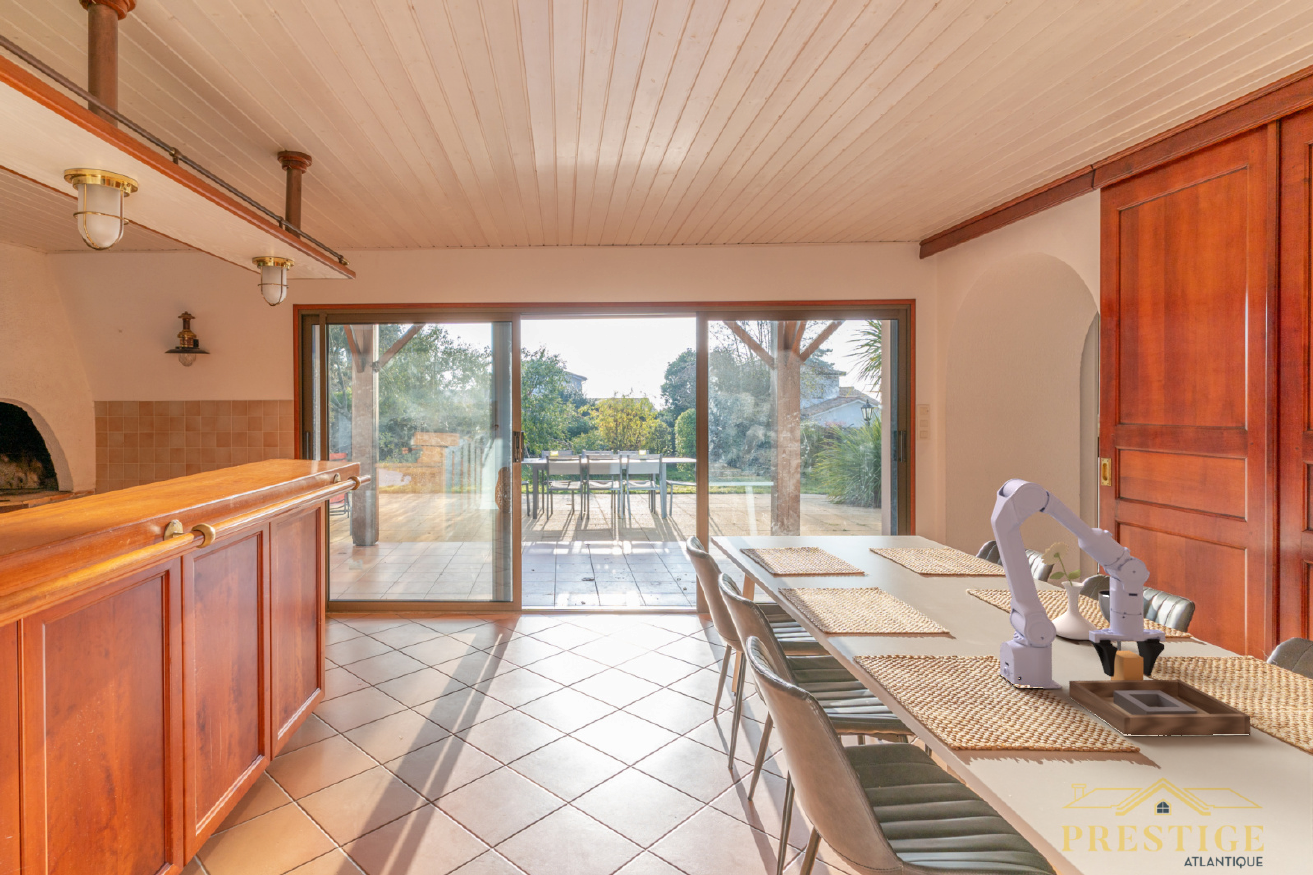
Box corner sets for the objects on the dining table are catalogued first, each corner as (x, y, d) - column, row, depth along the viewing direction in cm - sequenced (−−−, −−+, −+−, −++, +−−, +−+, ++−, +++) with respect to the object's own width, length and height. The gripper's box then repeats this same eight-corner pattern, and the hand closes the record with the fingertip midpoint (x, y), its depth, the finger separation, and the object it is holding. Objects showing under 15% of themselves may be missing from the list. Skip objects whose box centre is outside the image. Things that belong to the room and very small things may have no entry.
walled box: (1124, 736, 114) (1124, 717, 114) (1069, 697, 130) (1069, 680, 130) (1250, 735, 113) (1250, 716, 113) (1179, 696, 129) (1179, 679, 129)
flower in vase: (1083, 629, 170) (1083, 536, 169) (1110, 644, 159) (1109, 545, 158) (1032, 628, 171) (1031, 537, 171) (1055, 643, 160) (1054, 545, 159)
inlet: (1147, 724, 117) (1146, 711, 117) (1113, 703, 126) (1113, 690, 126) (1196, 724, 117) (1196, 710, 117) (1159, 702, 126) (1159, 690, 126)
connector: (1123, 690, 132) (1123, 657, 132) (1110, 683, 136) (1110, 650, 136) (1143, 690, 132) (1143, 657, 132) (1129, 682, 136) (1129, 650, 136)
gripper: (1104, 617, 130) (1105, 682, 130) (1176, 616, 130) (1177, 681, 130) (1082, 607, 137) (1083, 669, 137) (1150, 606, 137) (1151, 668, 137)
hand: (1127, 674), depth 134 cm, fingers open, 7 cm apart
